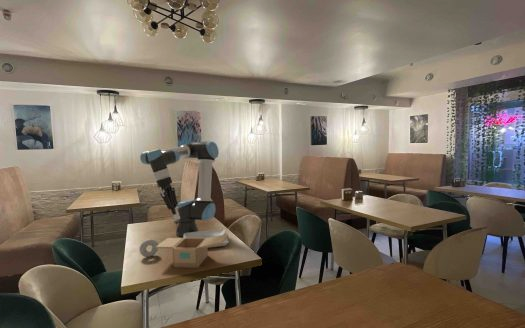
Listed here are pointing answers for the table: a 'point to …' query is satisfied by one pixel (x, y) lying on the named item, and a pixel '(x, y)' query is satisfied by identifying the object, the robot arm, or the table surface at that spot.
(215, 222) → the table surface
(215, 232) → the square plate
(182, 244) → the carton
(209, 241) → the flap
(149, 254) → the donut
